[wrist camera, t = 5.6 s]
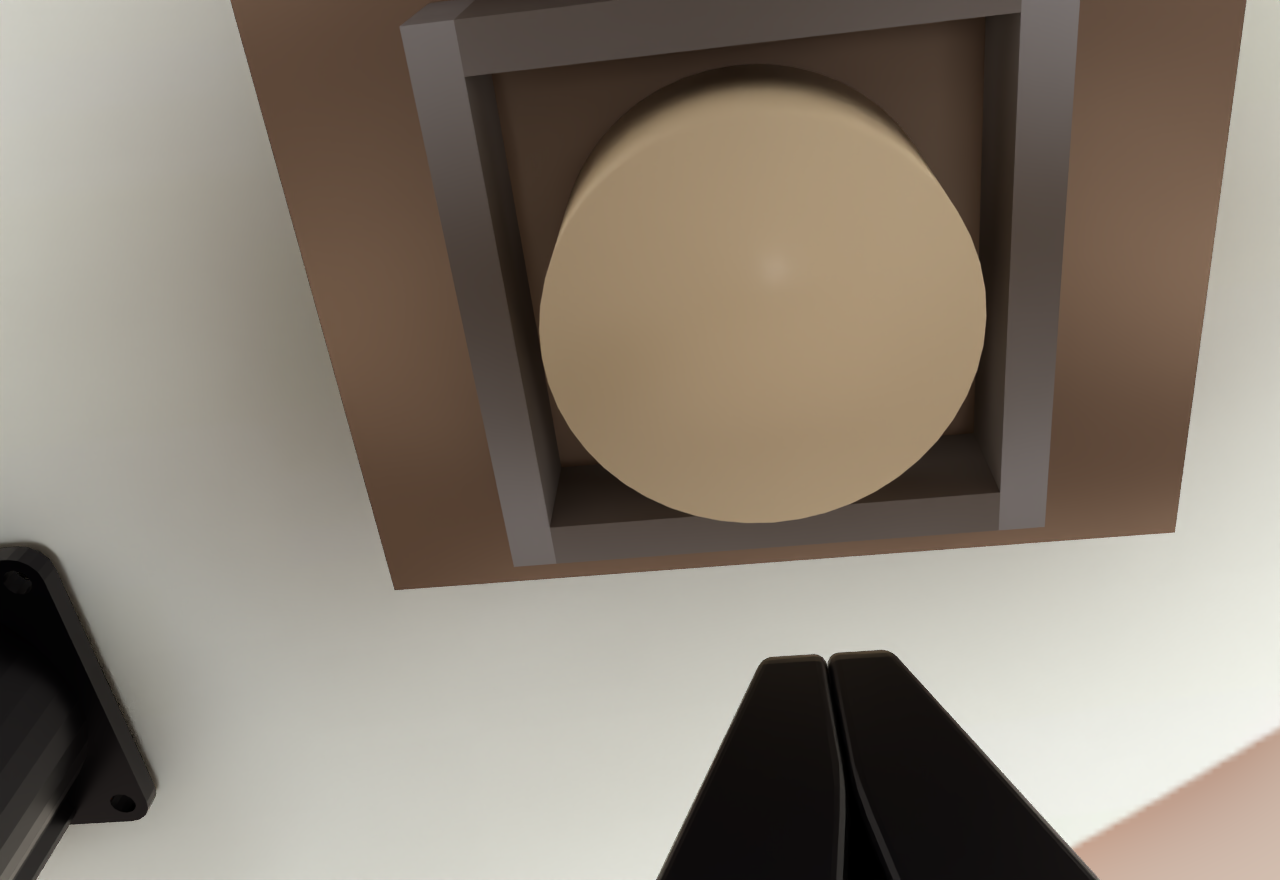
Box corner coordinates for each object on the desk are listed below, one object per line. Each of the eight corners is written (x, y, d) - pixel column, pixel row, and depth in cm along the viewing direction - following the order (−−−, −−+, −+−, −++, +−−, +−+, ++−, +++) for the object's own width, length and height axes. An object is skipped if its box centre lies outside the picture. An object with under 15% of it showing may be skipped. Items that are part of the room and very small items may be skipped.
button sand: (940, 409, 16) (979, 506, 14) (589, 440, 16) (573, 538, 14) (945, 40, 13) (994, 86, 11) (532, 87, 14) (503, 142, 12)
